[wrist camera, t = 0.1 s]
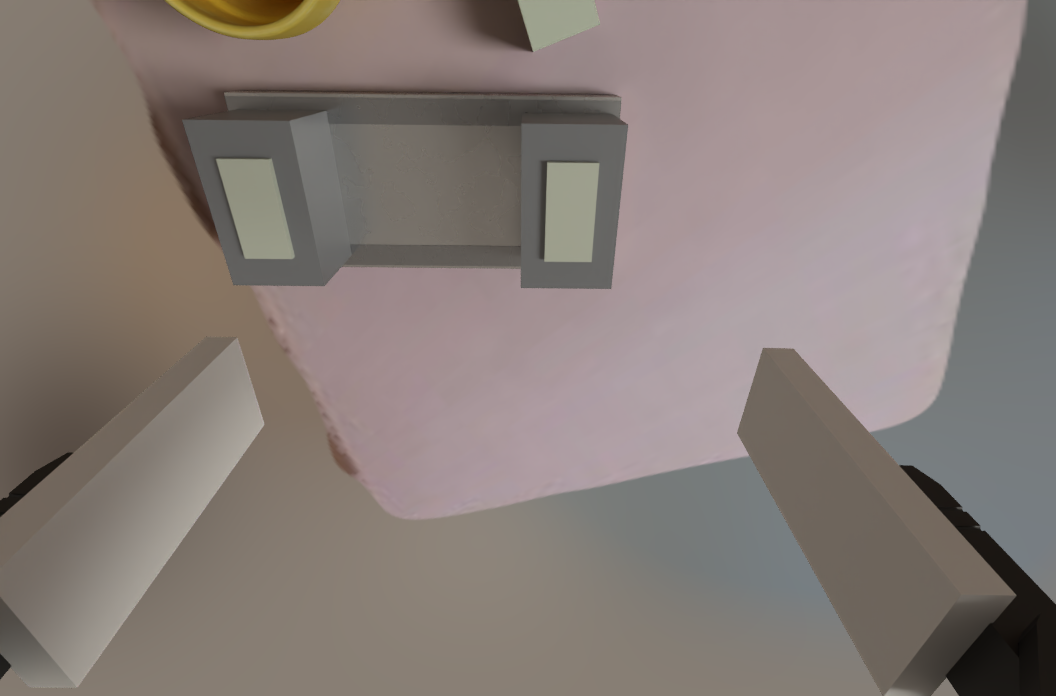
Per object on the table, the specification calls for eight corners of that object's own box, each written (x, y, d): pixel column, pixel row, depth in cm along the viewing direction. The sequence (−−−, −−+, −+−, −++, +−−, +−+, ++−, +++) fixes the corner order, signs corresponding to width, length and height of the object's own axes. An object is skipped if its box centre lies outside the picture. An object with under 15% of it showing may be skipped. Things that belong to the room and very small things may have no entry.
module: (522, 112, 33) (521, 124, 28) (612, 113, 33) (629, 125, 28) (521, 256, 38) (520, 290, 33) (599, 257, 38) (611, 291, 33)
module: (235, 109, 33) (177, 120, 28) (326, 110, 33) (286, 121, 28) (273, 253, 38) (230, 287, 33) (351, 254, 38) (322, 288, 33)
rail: (239, 90, 34) (223, 92, 32) (616, 95, 34) (621, 97, 33) (281, 257, 40) (269, 266, 39) (601, 260, 40) (605, 269, 39)
